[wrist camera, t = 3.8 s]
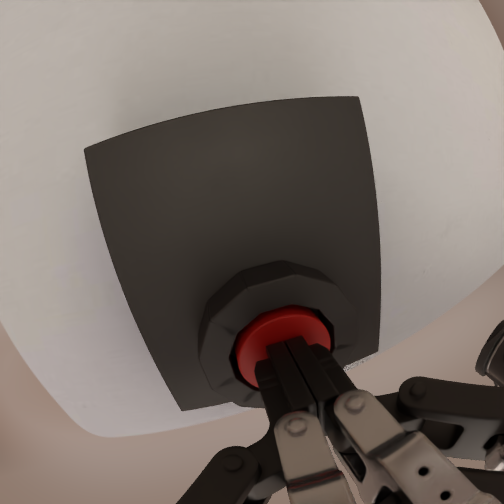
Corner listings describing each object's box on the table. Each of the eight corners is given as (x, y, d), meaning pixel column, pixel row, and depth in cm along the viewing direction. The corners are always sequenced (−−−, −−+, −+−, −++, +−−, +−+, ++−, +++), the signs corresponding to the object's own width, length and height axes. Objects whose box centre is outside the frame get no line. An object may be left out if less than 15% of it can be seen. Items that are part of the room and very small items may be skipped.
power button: (318, 353, 13) (332, 373, 11) (243, 376, 12) (249, 400, 11) (311, 285, 12) (328, 302, 10) (223, 309, 11) (227, 331, 10)
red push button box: (347, 319, 18) (394, 368, 13) (182, 367, 17) (181, 435, 11) (321, 112, 14) (382, 87, 8) (113, 154, 13) (63, 144, 7)
